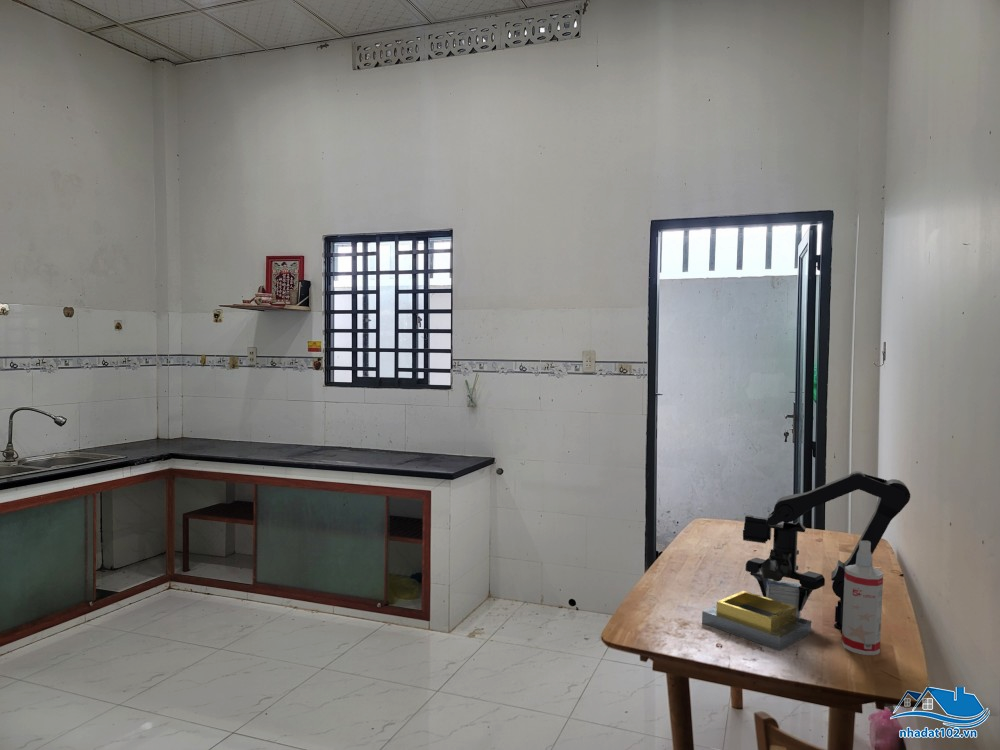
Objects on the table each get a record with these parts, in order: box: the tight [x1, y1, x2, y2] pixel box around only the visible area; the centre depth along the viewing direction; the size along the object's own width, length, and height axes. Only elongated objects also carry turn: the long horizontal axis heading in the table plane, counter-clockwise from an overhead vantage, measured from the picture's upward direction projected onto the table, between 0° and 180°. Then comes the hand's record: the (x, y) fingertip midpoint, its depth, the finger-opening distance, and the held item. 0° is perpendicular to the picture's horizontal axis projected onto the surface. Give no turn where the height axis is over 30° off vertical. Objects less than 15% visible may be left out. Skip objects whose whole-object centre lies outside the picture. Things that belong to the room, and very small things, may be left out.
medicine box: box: [766, 579, 801, 618], centre depth 173 cm, size 8×4×9 cm, turn 75°
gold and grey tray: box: [701, 590, 812, 652], centre depth 164 cm, size 20×16×6 cm
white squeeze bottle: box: [841, 539, 884, 656], centre depth 154 cm, size 8×8×25 cm
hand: (782, 605), depth 173 cm, fingers open, 9 cm apart
